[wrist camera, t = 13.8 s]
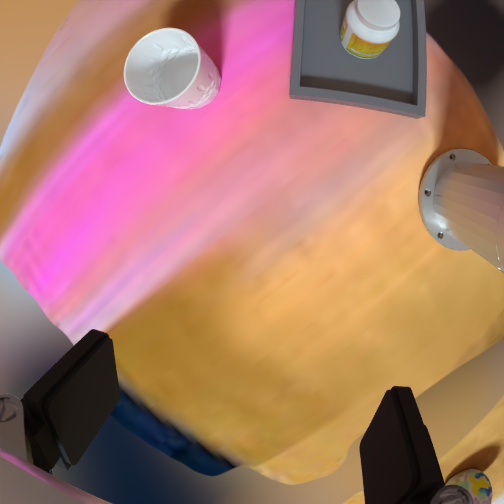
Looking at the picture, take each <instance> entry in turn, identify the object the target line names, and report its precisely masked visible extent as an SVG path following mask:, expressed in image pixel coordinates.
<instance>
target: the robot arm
mask: <svg viewBox="0 0 504 504" xmlns="http://www.w3.org/2000/svg"><path fill="white" fill-rule="evenodd" d="M450 156H451V159H450ZM425 190H427V193H426V194H425ZM419 208H420V214H421V217H422V221H423V223H424V225H425V227H426V229H427V231H428V232H429V233H430V235H431V236H432V237H433V238H434V239H435V240H436V241H437V242H439V243H440V244H442V245H443V246H445V247H447V248H449V249H452V250H458V251H462V250H469V249H471V250H473V251H474V252H476V253H477V254H478V255H480V256H481V257H483V258H484V259H485V260H487V261H488V262H490V263H491V264H492V265H494V266H495V267H496V268H498V269H499V270H500V271H502V272H503V273H504V167H502V166H495V165H492V163H491V162H490V161H489V160H488V159H487V158H486V157H484V156H483V155H482V154H480V153H478V152H476V151H473V150H470V149H452V150H449V151H446V152H444V153H442V154H441V155H439V156H438V157H437V158H435V159H434V161H433V162H432V163H431V164H430V165H429V167H428V168H427V170H426V172H425V174H424V176H423V179H422V182H421V185H420V191H419ZM438 233H439V235H438ZM437 235H438V236H437ZM119 399H120V390H119V384H118V378H117V371H116V364H115V356H114V348H113V341H112V339H110V338H109V335H108V334H107V333H104V332H101V331H98V330H95V329H92V330H90V331H89V332H88V333H87V334H86V335H85V336H84V337H83V338H82V339H81V340H80V341H79V342H78V343H76V344H75V345H74V346H73V347H72V348H71V349H70V350H69V351H68V352H67V353H66V354H65V355H64V356H63V357H62V358H61V359H60V360H59V361H58V362H57V363H56V364H55V365H54V366H53V367H52V368H51V369H50V370H49V371H48V372H47V373H45V375H43V376H42V377H41V378H40V380H39V381H37V382H36V383H35V384H34V385H33V387H31V388H30V389H29V390H28V391H27V392H26V394H25V395H24V398H22V399H21V400H20V399H18V398H17V397H15V396H14V395H11V394H1V395H0V504H111V503H109V502H107V501H104V500H102V499H100V498H98V497H95V496H93V495H91V494H89V493H87V492H85V491H83V490H80V489H78V488H76V487H74V486H72V485H70V484H68V483H66V482H64V481H62V480H60V479H58V478H56V477H54V476H53V471H52V468H53V467H54V466H55V464H56V465H58V466H60V467H62V468H64V469H66V470H68V469H69V468H70V466H71V465H76V464H77V462H78V461H79V460H80V458H81V456H82V455H83V454H84V452H85V451H86V449H87V448H88V446H89V445H90V443H91V442H92V440H93V439H94V437H95V436H96V434H97V433H98V431H99V430H100V428H101V427H102V425H103V424H104V423H105V421H106V419H107V418H108V417H109V415H110V414H111V412H112V411H113V409H114V408H115V406H116V405H117V403H118V402H119ZM360 457H361V465H362V476H363V486H364V496H365V504H473V498H472V496H471V494H470V493H469V492H468V490H466V489H465V488H463V487H462V486H459V485H446V486H445V483H444V480H443V476H442V473H441V469H440V466H439V463H438V460H437V457H436V453H435V450H434V447H433V444H432V441H431V438H430V435H429V432H428V429H427V427H426V426H425V425H424V424H423V421H422V418H421V415H420V412H419V409H418V407H417V404H416V401H415V398H414V395H413V393H412V390H411V388H410V387H402V386H393V387H392V389H391V390H387V391H386V393H385V395H384V397H383V399H382V401H381V403H380V405H379V407H378V409H377V411H376V413H375V415H374V417H373V419H372V421H371V423H370V425H369V427H368V429H367V431H366V433H365V434H364V436H363V438H362V440H361V443H360Z"/></svg>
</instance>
